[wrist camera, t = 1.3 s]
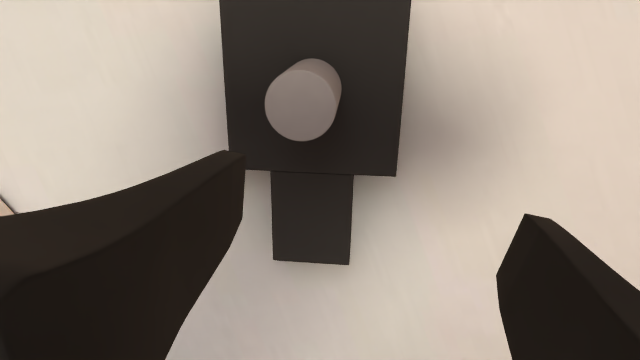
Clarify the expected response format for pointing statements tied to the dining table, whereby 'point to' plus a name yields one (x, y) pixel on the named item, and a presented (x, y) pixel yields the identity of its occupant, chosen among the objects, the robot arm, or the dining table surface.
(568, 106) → the dining table surface
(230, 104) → the black pad
